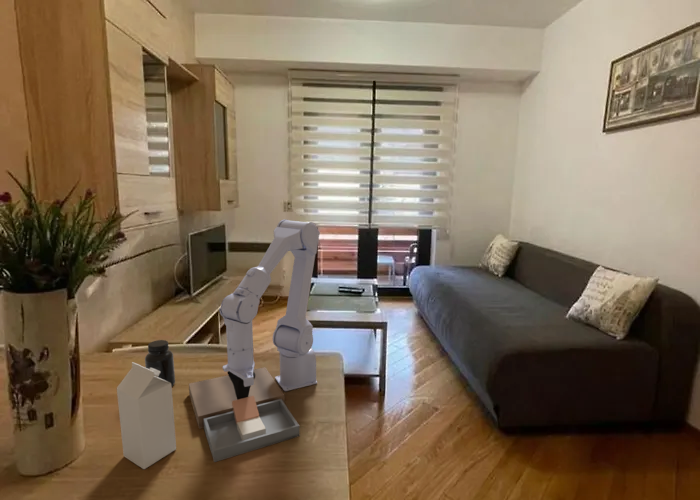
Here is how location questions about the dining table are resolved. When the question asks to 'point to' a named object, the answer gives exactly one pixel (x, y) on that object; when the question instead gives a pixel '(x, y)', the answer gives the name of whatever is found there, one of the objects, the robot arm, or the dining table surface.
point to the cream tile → (251, 428)
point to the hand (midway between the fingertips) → (242, 400)
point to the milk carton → (146, 416)
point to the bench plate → (230, 394)
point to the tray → (230, 443)
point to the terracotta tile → (245, 409)
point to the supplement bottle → (161, 360)
